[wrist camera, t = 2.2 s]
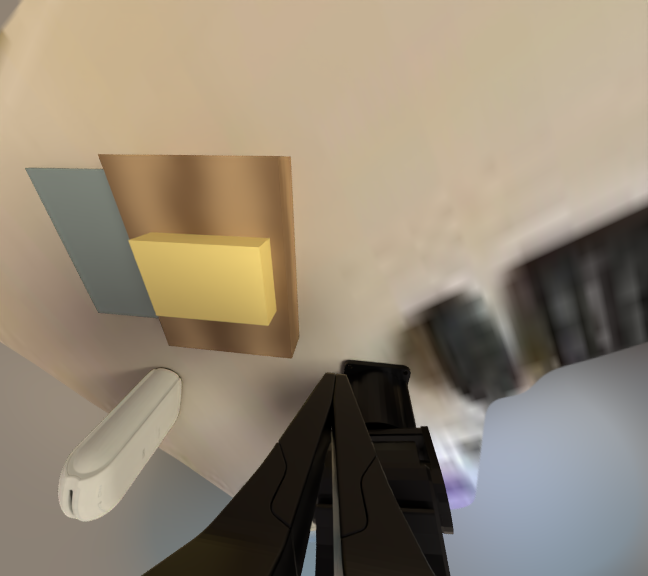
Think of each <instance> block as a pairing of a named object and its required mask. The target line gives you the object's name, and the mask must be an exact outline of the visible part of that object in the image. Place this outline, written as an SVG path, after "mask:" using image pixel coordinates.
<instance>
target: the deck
mask: <svg viewBox="0 0 648 576" xmlns="http://www.w3.org/2000/svg"><path fill="white" fill-rule="evenodd" d="M98 156H99V159H100V161H101V164H102V167H103V169H104V172H105V175H106V177H107V180H108V183H109V186H110V188H111V191H112V194H113V196H114V199H115V202H116V204H117V207H118V210H119V212H120V215H121V218H122V220H123V223H124V226H125V229H126V231H127V234H128V237H129V239H133V238H136V237H139V236H142V235H145V234H148V233H151V232H154V233H174V234H195V235H215V236H235V237H256V238H270V248H271V258H272V269H273V279H274V289H275V300H276V310H277V311H276V313H275V315H274V316H273V318H272V320H271V322H270V324H269V326H266V325H255V324H244V323H233V322H222V321H211V320H199V319H188V318H177V317H166V316H158V317H159V320H160V323H161V325H162V328H163V331H164V333H165V336H166V339H167V341H168V344H169V346H177V347H187V348H196V349H206V350H216V351H225V352H235V353H244V354H254V355H263V356H273V357H282V358H292V357H293V354H294V351H295V348H296V345H297V342H298V339H299V322H298V301H297V280H296V259H295V238H294V217H293V196H292V175H291V157H284V156H204V155H108V154H98Z"/></svg>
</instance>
